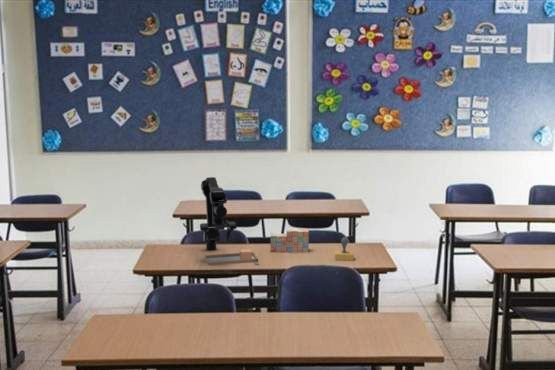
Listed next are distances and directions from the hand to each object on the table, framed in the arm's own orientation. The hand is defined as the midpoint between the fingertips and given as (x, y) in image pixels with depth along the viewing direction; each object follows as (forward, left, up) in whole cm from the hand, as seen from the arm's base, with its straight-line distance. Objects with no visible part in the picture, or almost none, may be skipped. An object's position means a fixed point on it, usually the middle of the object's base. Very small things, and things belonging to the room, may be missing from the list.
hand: (218, 242), depth 331 cm
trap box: (+2, +7, -11) cm, 13 cm away
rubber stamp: (+9, +67, -11) cm, 68 cm away
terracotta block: (0, +14, -10) cm, 17 cm away
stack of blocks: (-13, +42, -12) cm, 45 cm away
